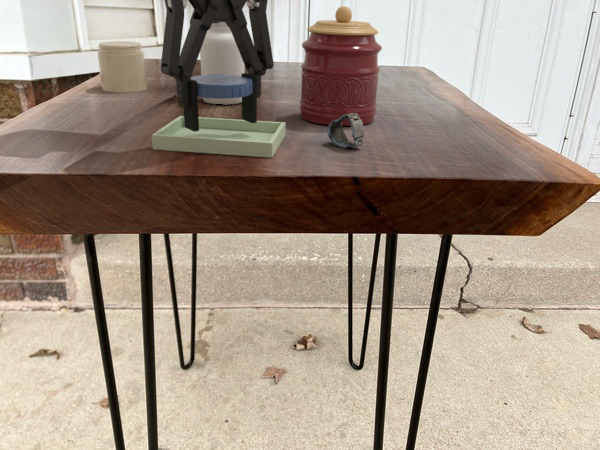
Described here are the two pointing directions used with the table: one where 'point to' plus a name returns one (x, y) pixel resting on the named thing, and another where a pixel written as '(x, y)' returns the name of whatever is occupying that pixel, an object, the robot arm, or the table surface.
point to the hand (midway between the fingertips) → (221, 124)
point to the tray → (221, 137)
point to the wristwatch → (339, 136)
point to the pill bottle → (221, 57)
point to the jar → (122, 67)
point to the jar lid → (223, 86)
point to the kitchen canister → (340, 70)
